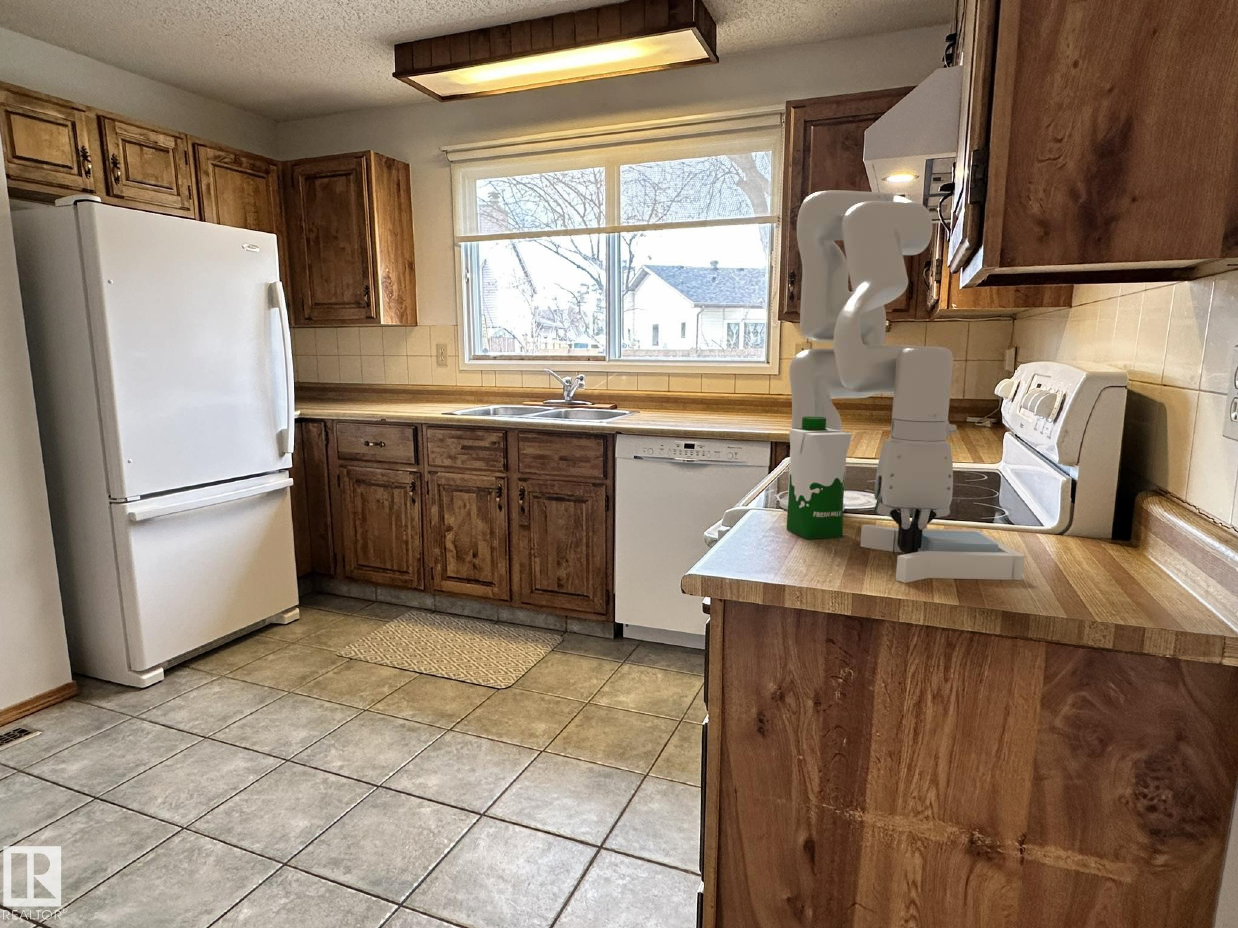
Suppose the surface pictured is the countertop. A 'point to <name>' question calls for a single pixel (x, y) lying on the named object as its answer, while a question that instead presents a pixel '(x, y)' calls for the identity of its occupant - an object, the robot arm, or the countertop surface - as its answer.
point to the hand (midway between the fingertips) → (908, 552)
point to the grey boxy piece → (956, 541)
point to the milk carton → (817, 479)
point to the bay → (945, 559)
